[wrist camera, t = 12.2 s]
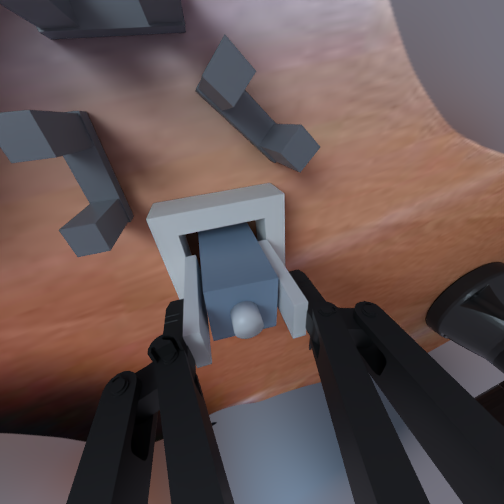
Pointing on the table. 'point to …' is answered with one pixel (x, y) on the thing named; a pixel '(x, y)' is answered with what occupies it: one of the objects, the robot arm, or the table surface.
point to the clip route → (83, 133)
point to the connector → (237, 282)
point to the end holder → (215, 222)
